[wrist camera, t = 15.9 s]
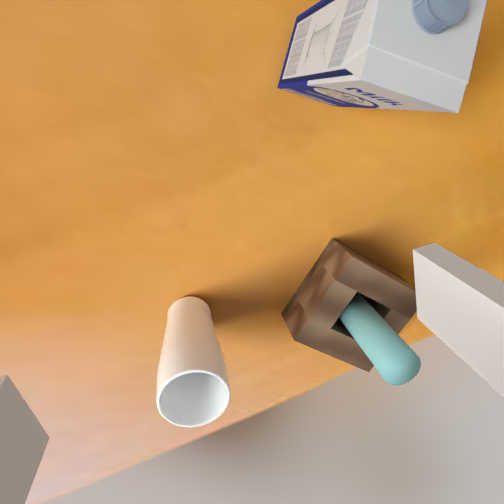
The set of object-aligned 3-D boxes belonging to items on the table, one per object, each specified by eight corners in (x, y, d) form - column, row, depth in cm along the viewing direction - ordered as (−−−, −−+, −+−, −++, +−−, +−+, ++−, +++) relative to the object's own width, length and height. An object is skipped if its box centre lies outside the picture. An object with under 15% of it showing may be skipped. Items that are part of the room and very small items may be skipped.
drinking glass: (227, 309, 48) (246, 393, 35) (191, 344, 49) (196, 439, 36) (187, 278, 46) (191, 356, 32) (150, 316, 47) (138, 406, 33)
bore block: (332, 238, 47) (352, 256, 42) (399, 276, 51) (426, 297, 46) (281, 313, 50) (294, 340, 45) (349, 344, 54) (368, 372, 49)
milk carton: (275, 87, 39) (360, 78, 21) (295, 15, 37) (408, -63, 19) (336, 106, 41) (461, 114, 23) (358, 39, 39) (516, -11, 21)
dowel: (341, 281, 49) (399, 346, 36) (364, 293, 50) (428, 359, 37) (324, 306, 50) (375, 378, 37) (347, 316, 51) (404, 389, 38)
